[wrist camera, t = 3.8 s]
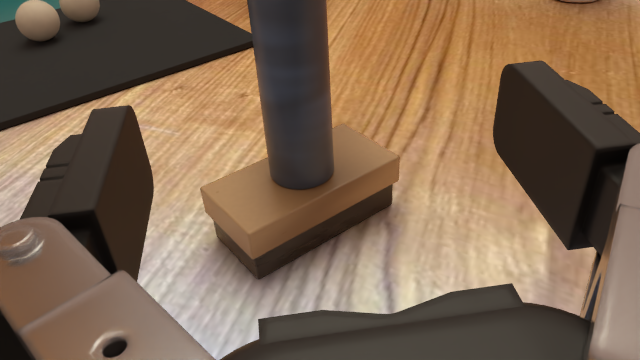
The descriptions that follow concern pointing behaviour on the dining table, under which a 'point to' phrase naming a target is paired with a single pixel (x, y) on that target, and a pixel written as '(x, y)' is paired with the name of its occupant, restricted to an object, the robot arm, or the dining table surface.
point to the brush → (297, 150)
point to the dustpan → (3, 4)
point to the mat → (107, 54)
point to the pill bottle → (578, 0)
